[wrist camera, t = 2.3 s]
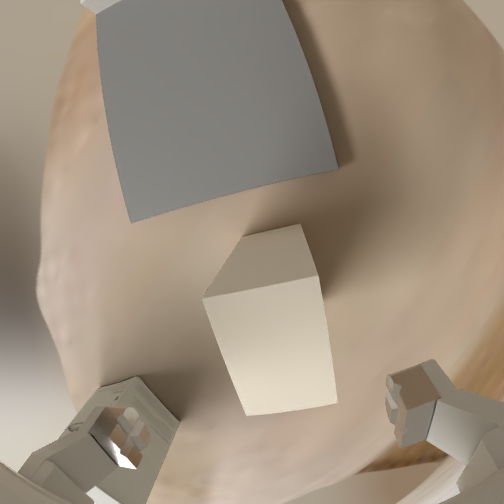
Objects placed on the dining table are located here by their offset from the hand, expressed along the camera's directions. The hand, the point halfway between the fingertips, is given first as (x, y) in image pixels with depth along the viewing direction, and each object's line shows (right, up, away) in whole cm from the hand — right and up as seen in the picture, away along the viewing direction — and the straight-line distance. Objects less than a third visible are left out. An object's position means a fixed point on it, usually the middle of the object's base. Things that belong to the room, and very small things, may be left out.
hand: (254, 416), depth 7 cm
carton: (+2, +4, +12) cm, 13 cm away
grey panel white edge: (-4, +18, +9) cm, 21 cm away
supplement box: (-12, -12, +18) cm, 25 cm away
